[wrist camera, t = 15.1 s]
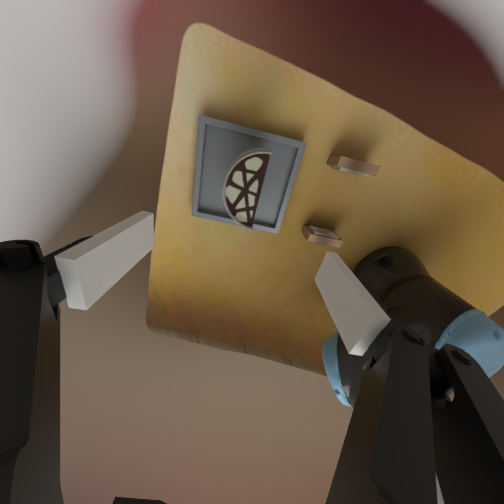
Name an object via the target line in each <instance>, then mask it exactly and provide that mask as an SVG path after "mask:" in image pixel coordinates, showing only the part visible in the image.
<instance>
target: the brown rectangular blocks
mask: <svg viewBox="0 0 504 504" xmlns="http://www.w3.org/2000/svg"><path fill="white" fill-rule="evenodd" d="M327 165H331V166H332V168H333V169H337V170H341V171H345V172H349V173H353V174H357V175H361V176H366V177H368V175H373V176H376V174H377V172H378V170H379V168H380V166H379V165H375V164H371V163H367V162H363V161H360V160H356V159H352V158H348V157H344V156H338V155H330V157H329V159H328V162H327ZM302 233H303V235H304V237H305V238H306V240H307V241H308V242H313V243H318V244H322V245H327V246H332V247H337V248H340V247H341V245H342V243H343V240H342V239H341V238H340V237H339V236H338V235H337V234H336V233H335V232H333V231H332V230H329V229H324V228H320V227H315V226H311V225H310V226H305V225H304V227H303V229H302Z"/></svg>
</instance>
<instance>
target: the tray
mask: <svg viewBox="0 0 504 504" xmlns="http://www.w3.org/2000/svg"><path fill="white" fill-rule="evenodd" d="M305 146H306V143H305V142H302V141H298V140H294V139H290V138H286V137H283V136H279V135H275V134H271V133H267V132H264V131H260V130H256V129H252V128H249V127H245V126H241V125H237V124H233V123H230V122H226V121H222V120H218V119H215V118H211V117H207V116H203V115H199V128H198V141H197V154H196V167H195V180H194V193H193V206H192V216H196V217H200V218H205V219H210V220H215V221H219V222H224V223H229V224H233V225H238V226H241V225H240V224H238V223H237V222H236V221H235V220H234V219H233V218H232V217H231V216H230V215H229V213H228V211H227V210H226V207H225V205H224V202H223V198H222V181H223V176H224V174H225V172H226V169H227V168H228V166H229V165H230V163H231V162H232V161H233V160H234V159H235V158H236V157H237V156H238V155H240V154H241V153H243V152H245V151H247V150H250V149H254V148H271V149H272V154H271V155H270V158H269V162H268V166H267V170H266V174H265V178H264V182H263V185H262V189H261V194H260V197H259V201H258V205H257V209H256V213H255V217H254V221H253V229H257V230H262V231H266V232H271V233H276V234H278V233H279V230H280V227H281V223H282V220H283V217H284V214H285V211H286V207H287V204H288V201H289V198H290V194H291V191H292V188H293V185H294V182H295V178H296V175H297V172H298V169H299V165H300V162H301V159H302V156H303V153H304V149H305Z"/></svg>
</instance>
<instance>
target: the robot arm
mask: <svg viewBox="0 0 504 504" xmlns="http://www.w3.org/2000/svg"><path fill="white" fill-rule="evenodd" d="M152 248H154V230H153V213H150V212H145V211H141V212H139V213H137V214H135V215H133V216H131V217H130V218H127V219H126V220H124V221H122V222H120V223H118V224H116V225H114V226H112V227H110V228H108V229H106V230H104V231H102V232H100V233H99V234H96V235H95V236H89V237H85V238H81V239H79V240H77V241H75V242H73V243H72V244H69V245H67V246H65V247H63V248H60V249H59V250H56V251H54V252H53V253H50V254H48V255H46V256H44V257H43V255H42V251H41V248H40V245H39V244H38V243H37V242H35V241H31V240H11V241H4V242H0V504H64V503H63V497H62V492H61V486H60V307H59V303H60V302H61V301H63V300H64V299H65V298H66V299H67V302H68V306H69V307H70V308H76V309H81V310H87V309H88V308H89V307H91V306H92V305H93V304H94V303H95V302H96V301H97V300H98V299H99V298H100V297H101V296H102V295H103V294H104V293H105V292H107V291H108V290H109V289H110V288H111V287H112V286H113V285H114V284H115V283H116V282H117V281H118V280H119V279H121V278H122V277H123V276H124V275H125V274H126V273H127V272H128V271H129V270H130V269H131V268H132V267H133V266H134V265H135V264H137V262H139V261H140V260H141V259H142V258H143V257H144V256H145V255H146V254H147V253H148V252H149V251H150V250H151V249H152ZM314 280H315V283H316V285H317V287H318V289H319V291H320V293H321V295H322V297H323V300H324V302H325V304H326V306H327V308H328V310H329V312H330V315H331V317H332V319H333V321H334V323H335V325H336V327H337V330H338V332H337V333H335V334H334V335H332V336H330V337H328V338H326V339H325V341H324V342H323V346H322V356H323V361H324V366H325V369H326V372H327V375H328V378H329V381H330V383H331V386H332V387H333V388H334V390H335V393H336V395H337V397H338V399H339V400H340V401H341V402H342V404H344V405H346V406H349V407H351V406H352V407H353V409H354V410H353V413H352V417H351V420H350V423H349V427H348V430H347V434H346V437H345V440H344V444H343V447H342V450H341V454H340V457H339V460H338V464H337V467H336V470H335V474H334V477H333V481H332V484H331V488H330V491H329V494H328V497H327V501H326V503H325V504H504V400H503V398H502V397H501V396H500V394H499V393H498V391H497V390H496V389H495V387H494V385H493V384H492V382H491V381H490V379H489V377H490V376H491V375H493V374H494V373H496V372H497V371H498V370H499V369H500V368H501V367H502V366H503V365H504V330H503V329H502V328H501V327H499V326H498V325H497V324H496V323H494V322H493V321H492V320H490V319H489V318H488V317H487V315H485V314H484V313H483V312H482V311H480V310H478V309H476V308H475V307H473V306H472V305H470V304H469V303H467V302H466V301H465V300H463V299H462V298H460V297H459V296H457V295H456V294H455V293H453V292H452V291H450V290H449V289H447V288H446V287H445V286H443V285H442V284H440V283H439V282H437V281H436V280H434V279H433V278H432V277H431V276H430V274H429V273H428V271H427V270H426V268H425V267H424V265H423V264H422V262H421V261H420V259H419V258H418V257H417V256H415V255H414V254H413V253H411V252H409V251H408V250H406V249H403V248H399V247H388V248H383V249H380V250H377V251H375V252H373V253H371V254H369V255H368V256H366V257H365V258H364V259H363V260H362V261H361V262H360V263H359V264H358V265H357V267H356V268H355V270H354V272H353V273H352V271H351V270H350V269H349V268H348V266H347V265H346V264H345V263H344V261H343V260H342V259H341V258H340V257H339V255H338V254H337V253H334V252H330V251H327V253H326V255H325V257H324V259H323V261H322V264H321V266H320V268H319V270H318V272H317V274H316V276H315V279H314ZM453 392H454V393H455V394H454V399H453V401H452V402H451V400H450V398H449V395H450V394H451V393H453ZM113 504H166V503H164V502H163V501H160V500H147V499H135V498H122V497H115V499H114V501H113Z"/></svg>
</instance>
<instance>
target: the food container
mask: <svg viewBox="0 0 504 504" xmlns="http://www.w3.org/2000/svg"><path fill="white" fill-rule="evenodd" d="M271 154H272V149H271V148H254V149H250V150H247V151H245V152H243V153H241V154H240V155H238V156H237V157H236V158H235V159H234V160H233V161H232V162H231V163H230V165H229V166H228V168H227V169H226V172H225V174H224V176H223V181H222V198H223V202H224V205H225V207H226V210H227V211H228V213H229V215H230V216H231V217H232V218H233V219H234V220H235V221H236V222H237V223H238V224H240V225H241V226H243V227H245V228H247V229H250V230H253V221H254V217H255V213H256V209H257V205H258V201H259V197H260V194H261V189H262V185H263V182H264V178H265V174H266V170H267V166H268V162H269V158H270V155H271Z"/></svg>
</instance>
